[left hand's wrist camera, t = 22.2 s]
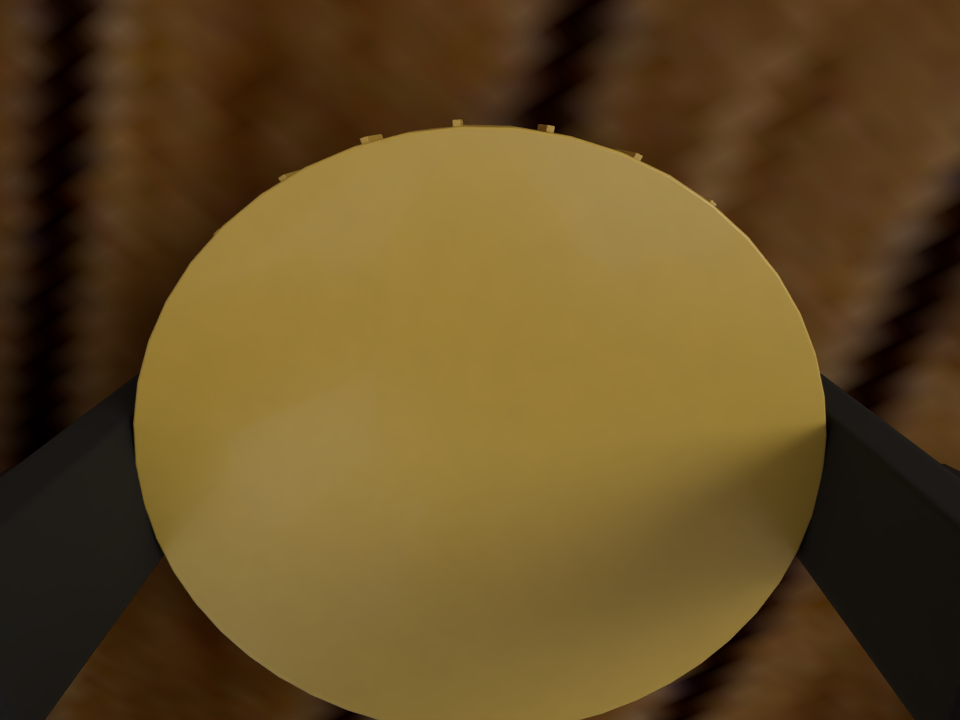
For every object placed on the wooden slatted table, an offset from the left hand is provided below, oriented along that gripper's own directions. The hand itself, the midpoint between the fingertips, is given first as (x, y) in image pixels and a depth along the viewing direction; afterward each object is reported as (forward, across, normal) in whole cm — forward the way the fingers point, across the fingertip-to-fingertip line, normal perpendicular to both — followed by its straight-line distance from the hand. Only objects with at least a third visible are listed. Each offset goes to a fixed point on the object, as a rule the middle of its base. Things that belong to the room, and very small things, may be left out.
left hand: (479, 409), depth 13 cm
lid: (-3, 0, 0) cm, 3 cm away
